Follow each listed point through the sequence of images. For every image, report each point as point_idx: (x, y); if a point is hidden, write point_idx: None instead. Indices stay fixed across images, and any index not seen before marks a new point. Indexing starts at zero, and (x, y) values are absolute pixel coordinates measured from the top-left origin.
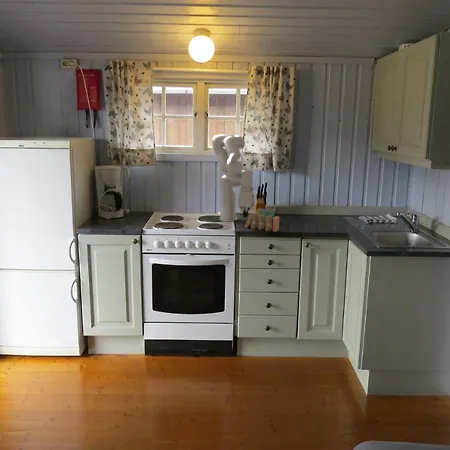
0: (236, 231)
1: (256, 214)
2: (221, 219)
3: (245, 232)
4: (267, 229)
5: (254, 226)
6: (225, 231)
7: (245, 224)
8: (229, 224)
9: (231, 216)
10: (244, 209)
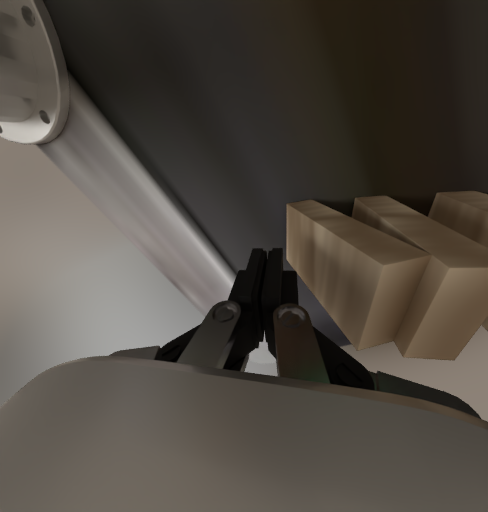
0: None
1: (472, 312)
2: (14, 141)
3: (343, 338)
4: None
5: None
6: None
7: (295, 268)
8: (157, 226)
9: (3, 73)
10: (237, 347)
